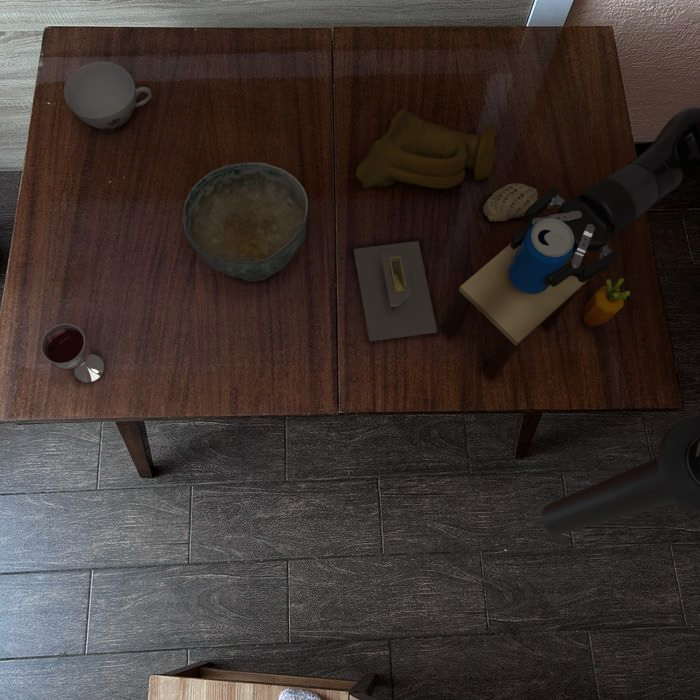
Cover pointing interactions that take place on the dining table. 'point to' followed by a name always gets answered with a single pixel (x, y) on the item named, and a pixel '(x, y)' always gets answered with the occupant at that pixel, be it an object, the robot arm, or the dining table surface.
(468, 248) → the dining table surface
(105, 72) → the teacup
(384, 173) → the brown looped sculpture
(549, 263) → the beverage can
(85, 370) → the wineglass
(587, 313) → the carrot
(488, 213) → the seashell
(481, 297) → the stool
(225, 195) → the bowl
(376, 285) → the platform
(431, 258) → the dining table surface
